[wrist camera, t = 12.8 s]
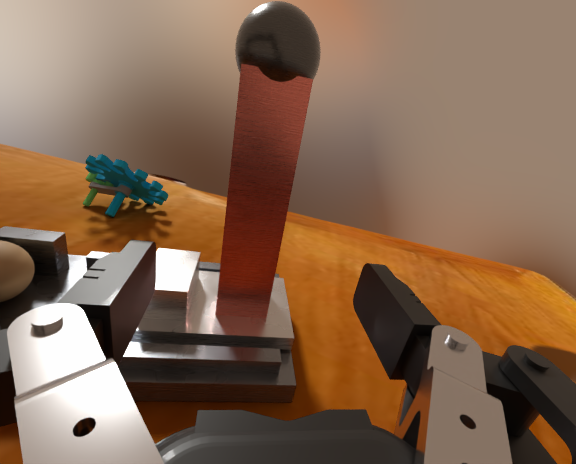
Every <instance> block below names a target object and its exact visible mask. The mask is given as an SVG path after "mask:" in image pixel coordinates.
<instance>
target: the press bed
mask: <svg viewBox="0 0 576 464" xmlns="http://www.w3.org/2000/svg"><path fill="white" fill-rule="evenodd" d="M0 240H1V241H7V242H10V243H13V244H16V245H18V246H20V247H21V248H23V249H24V250H25V251H26V252H28V254H29V255H30V256H31V258H32V260H33V263H34V269H35V270H34V276H33V279H32V281H31V282H30V284H29V285H28V287H27V288H26V289H25V290H24V291H22V292H21V293H20V294H18V295H17V296H15V297H13V298H11V299H9V300H6V301H3V302H0V330H3V329H8V327H9V326H10V325H11V323H12V322H13V321H14V320H15V319H17V318H18V317H19V316H21V315H23V314H24V313H26V312H28V311H30V310H33V309H35V308H38V307H42V306H46V305H50V304H56V303H57V302H58V301H59V300H60V299H61V298H62V297H63V296H64V295H65V294H66V293H67V292H68V291H69V289H70V288H71V287H72V286H73V285H74V284H75V283H76V282H77V281H78V280H79V279H80V278H82V277H83V275H84V274H85V273H86V272H87V271H88V270H90V267H91V266H92V265H93V264H94V263H95V262H96V261H97V260H98V259H100V258H102V257H104V256H106V255H108V254H110V253H105V252H94V251H92V252H91V253H90V254H88V255H87V256H78V255H68V251H67V244H66V236H65V233H62V232H52V231H43V230H33V229H24V228H14V227H5V226H4V227H2V228H0ZM199 271H209V272H220V264H219V263H209V262H200V266H199ZM275 277H276V278H279V274H275ZM118 369H119V371H120V373H121V375H122V378H123V380H124V382H125V384H126V386H127V388H128V390H129V392H130V394H131V396H132V398H133V400H134V401H203V402H292V399H293V396H294V392H295V389H296V380H295V374H294V368H293V361H292V355H291V350H287V349H270V348H248V347H225V346H203V345H180V344H158V343H135V342H130V344H129V346H128V348H127V350H126V352H125V354H124V356H123V358H122V360H121V362H120V364H119V366H118Z"/></svg>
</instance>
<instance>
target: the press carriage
mask: <svg viewBox="0 0 576 464" xmlns="http://www.w3.org/2000/svg"><path fill="white" fill-rule="evenodd" d="M235 51H236V61H237V66H238V69H239V72H240V83H239V92H238V103H237V111H236V121H235V130H234V140H233V150H232V159H231V169H230V178H229V188H228V197H227V207H226V216H225V226H224V235H223V245H222V255H221V264H220V272H209V271H199V266H200V252H193V251H183V250H174V249H164V248H159V249H158V250H157V252H156V286H155V291H154V294H153V297H152V299H151V301H150V303H149V305H148V307H147V309H146V311H145V313H144V315H143V317H142V320H141V322H140V324H139V326H138V328H137V330H136V332H135V334H134V336H133V338H132V340H131V342H135V343H158V344H180V345H203V346H225V347H248V348H270V349H287V350H292V346H293V342H294V334H293V328H292V323H291V317H290V312H289V306H288V301H287V295H286V290H285V285H284V279H283V278H276V277H275V272H276V267H277V262H278V257H279V252H280V246H281V241H282V236H283V231H284V226H285V221H286V216H287V211H288V205H289V200H290V195H291V190H292V185H293V180H294V174H295V169H296V164H297V159H298V154H299V149H300V144H301V138H302V133H303V128H304V122H305V118H306V113H307V107H308V103H309V97H310V92H311V87H312V82H313V79H314V77H315V75H316V72H317V70H318V66H319V61H320V42H319V38H318V34H317V31H316V29H315V27H314V25H313V23H312V22H311V20H310V19H309V17H308V16H307V15H306V14H305V13H304V12H303V11H302V10H300V9H299V8H298V7H296V6H294V5H292V4H290V3H286V2H280V1H275V2H268V3H265V4H262V5H260V6H258V7H257V8H255V9H254V10H253V11H252V12H251V13H250V14H249V15H248V16H247V17H246V18H245V20H244V22H243V23H242V25H241V27H240V29H239V32H238V35H237V41H236V50H235Z"/></svg>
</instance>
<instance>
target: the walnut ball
mask: <svg viewBox="0 0 576 464" xmlns="http://www.w3.org/2000/svg"><path fill="white" fill-rule="evenodd" d="M34 270H35V269H34V263H33V260H32V258H31V256H30V255H29V254H28V252H26V251H25V250H24V249H23V248H21V247H20V246H18V245H16V244H13V243H10V242H7V241H1V240H0V302H3V301H6V300H9V299H11V298H13V297H15V296H17V295H18V294H20V293H21V292H22V291H24V290H25V289H26V288H27V287H28V285H29V284H30V282H31V281H32V279H33V276H34Z"/></svg>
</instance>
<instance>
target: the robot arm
mask: <svg viewBox="0 0 576 464" xmlns="http://www.w3.org/2000/svg"><path fill="white" fill-rule="evenodd" d="M155 286H156V244H155V242H149V241H139V240H130V241H129V243H128V244H127V245H126V246H125V247H124V249H123V250H122V251H121V252H120V253H117V252H112V253H110V254H108V255H106V256H104V257H102V258H100V259H98V260H97V261H96V262H95V263H94V264H93V265H92V266H91V267H90V270H88V271H87V272H86V273H85V274H84V275H83V277H82V278H80V279H79V280H78V281H77V282H76V283H75V284H74V285H73V286H72V287H71V288H70V289H69V291H68V292H67V293H66V294H65V295H64V296H63V297H62V298H61V299H60V300H59V301H58V302H57V303H56V304H50V305H46V306H42V307H38V308H35V309H33V310H30V311H28V312H26V313H24V314H23V315H21V316H19V317H18V318H17V319H15V320H14V321H13V322H12V323H11V325H10V326H9V327H8V329H3V330H0V426H4V425H8V424H12V423H15V422H17V423H18V430H19V437H20V444H21V450H22V457H23V464H557V463H556V462H555V461H554V459H553V458H552V457H551V456H550V454H549V453H548V452H547V451H546V449H545V448H544V447H543V446H542V444H541V443H540V442H539V441H538V440H537V438H536V437H535V436H534V435H533V433H532V432H531V431H530V430H529V427H530V426H531V424H532V423H533V422H534V420H535V419H536V418H537V417H538V415H539V414H541V415H542V417H543V418H544V419H545V420H546V421H547V422H548V423H549V424H550V426H551V427H552V428H553V429H554V430H555V431H556V432H557V434H558V435H559V436H560V437H561V438H562V439H563V440H564V442H565V443H566V444H567V446H568V448H569V450H570V452H571V455H572V464H576V384H575V383H574V382H573V381H572V380H571V379H570V378H569V377H567V376H566V375H565V374H564V373H563V372H562V371H561V370H560V369H559V368H558V367H556V366H555V365H554V364H553V363H552V362H551V361H549V360H548V359H546V358H545V357H543V356H542V355H540V354H538V353H536V352H534V351H532V350H530V349H528V348H525V347H521V346H516V345H512V346H509V347H508V348H507V350H506V351H505V353H504V355H503V356H502V357H501V356H497V355H494V354H490V353H487V352H483V351H482V350H481V348H480V347H479V345H478V344H477V343H476V342H475V341H474V340H473V339H472V338H471V337H470V336H468V335H467V334H465V333H464V332H462V331H460V330H458V329H455V328H453V327H450V326H445V325H441V324H440V323H439V322H438V321H437V319H436V318H435V317H434V316H433V315H432V314H431V312H430V311H429V310H428V309H427V308H426V307H425V305H424V304H423V303H421V301H420V300H419V298H418V297H417V296H415V294H414V293H413V292H412V290H411V289H410V288H409V287H408V286H407V285H406V284H404V283H403V282H401V281H400V280H399V279H397V278H396V277H395V276H394V275H393V273H392V272H391V271H390V270H389V269H388V267H387V266H385V265H379V264H369V263H367V264H365V265H364V267H363V269H362V272H361V275H360V278H359V281H358V284H357V287H356V291H355V294H354V299H353V305H354V309H355V312H356V314H357V316H358V318H359V320H360V322H361V324H362V325H363V327H364V329H365V331H366V333H367V335H368V337H369V339H370V341H371V343H372V345H373V347H374V349H375V351H376V353H377V355H378V357H379V359H380V361H381V363H382V365H383V367H384V369H385V371H386V373H387V375H388V377H389V379H394V380H405V381H406V383H407V384H406V386H405V388H404V390H403V394H402V398H401V403H400V407H399V412H398V417H397V421H396V426H395V430H394V434H392V433H390V432H388V431H386V430H384V429H382V428H379V427H377V426H374V425H372V424H371V422H370V419H369V416H368V414H367V411H366V410H325V411H322V412H318V413H315V414H312V415H308V416H305V417H302V418H298V419H295V420H291V421H284V420H280V419H276V418H272V417H268V416H264V415H260V414H256V413H252V412H248V411H244V410H198V413H197V419H196V425H195V426H193V427H190V428H186V429H184V430H181V431H179V432H176V433H174V434H172V435H170V436H169V437H167V438H165V439H163V440H161V441H160V442H158V443H157V444H154V442H153V439H152V437H151V435H150V433H149V431H148V429H147V427H146V425H145V423H144V421H143V419H142V417H141V415H140V413H139V411H138V408H137V406H136V404H135V402H134V400H133V398H132V396H131V394H130V392H129V390H128V388H127V386H126V384H125V382H124V380H123V378H122V375H121V373H120V371H119V369H118V366H119V364H120V362H121V360H122V358H123V356H124V354H125V352H126V350H127V348H128V346H129V344H130V342H131V340H132V338H133V336H134V334H135V332H136V330H137V328H138V326H139V324H140V322H141V320H142V317H143V315H144V313H145V311H146V309H147V307H148V305H149V303H150V301H151V299H152V297H153V294H154V291H155Z"/></svg>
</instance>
